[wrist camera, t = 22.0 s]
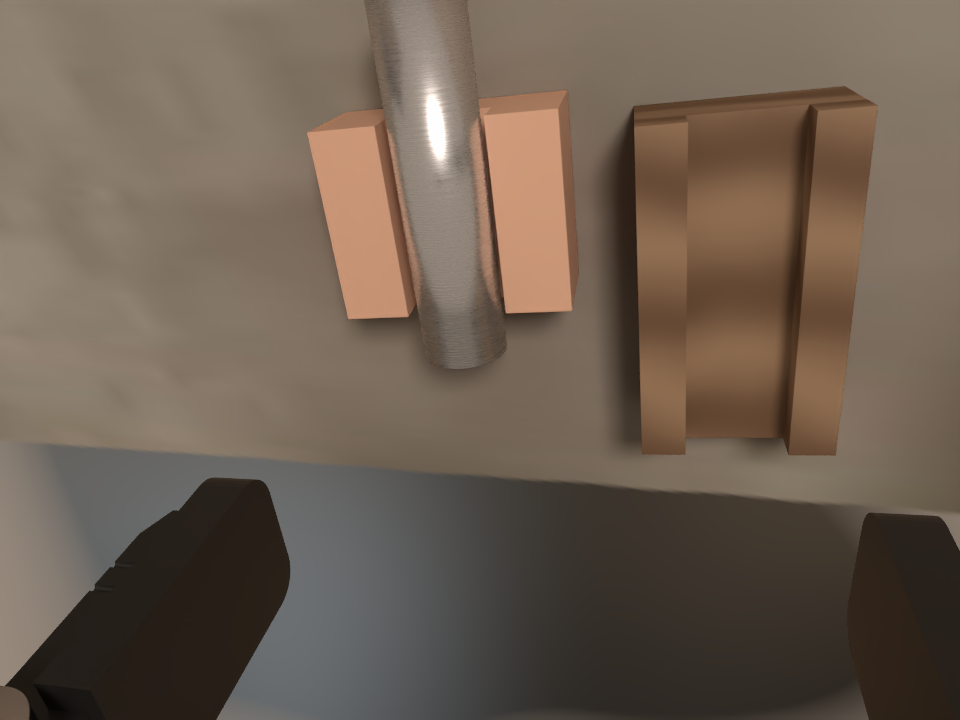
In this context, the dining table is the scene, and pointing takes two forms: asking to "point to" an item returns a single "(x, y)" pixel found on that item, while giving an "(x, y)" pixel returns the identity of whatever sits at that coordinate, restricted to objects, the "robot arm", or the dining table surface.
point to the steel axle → (440, 175)
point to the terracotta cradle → (513, 196)
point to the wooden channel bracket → (749, 264)
